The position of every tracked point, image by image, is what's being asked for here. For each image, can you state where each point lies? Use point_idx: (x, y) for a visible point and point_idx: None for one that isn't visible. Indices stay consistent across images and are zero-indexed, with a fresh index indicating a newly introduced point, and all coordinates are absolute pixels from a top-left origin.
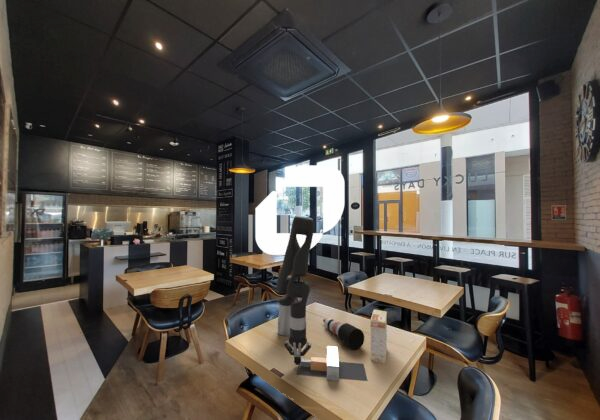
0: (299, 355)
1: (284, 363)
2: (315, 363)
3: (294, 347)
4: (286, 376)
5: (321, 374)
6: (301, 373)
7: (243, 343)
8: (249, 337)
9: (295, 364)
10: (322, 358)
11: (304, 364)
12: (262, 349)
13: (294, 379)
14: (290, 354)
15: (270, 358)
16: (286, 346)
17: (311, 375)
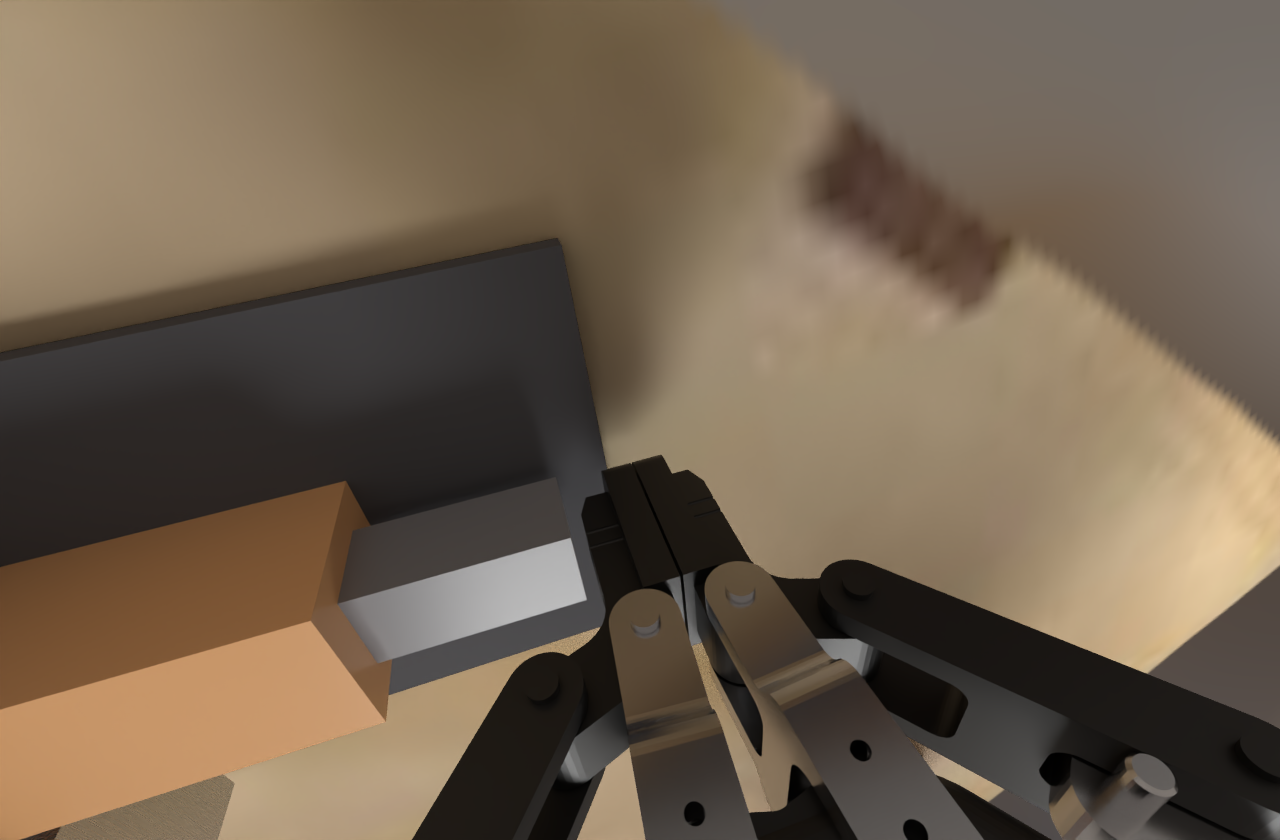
0: (635, 633)
1: (826, 454)
2: (188, 618)
3: (915, 821)
4: (749, 148)
5: (5, 448)
6: (474, 316)
7: (1231, 542)
8: (1161, 624)
9: (661, 455)
10: (83, 801)
11: (485, 518)
12: (1076, 551)
13: (560, 96)
14: (869, 563)
15: (1005, 465)
16: (1163, 721)
17: (216, 331)
